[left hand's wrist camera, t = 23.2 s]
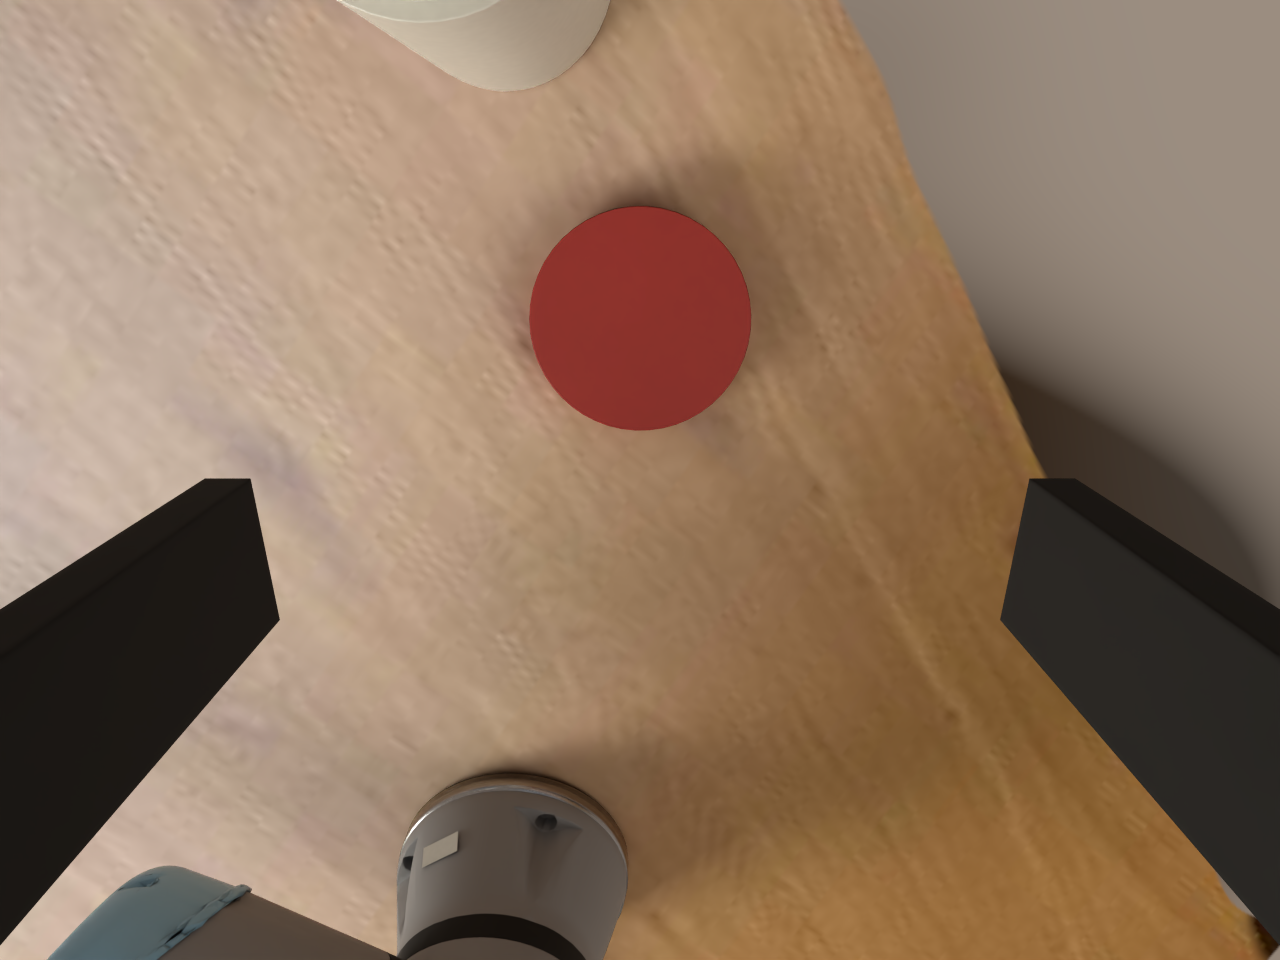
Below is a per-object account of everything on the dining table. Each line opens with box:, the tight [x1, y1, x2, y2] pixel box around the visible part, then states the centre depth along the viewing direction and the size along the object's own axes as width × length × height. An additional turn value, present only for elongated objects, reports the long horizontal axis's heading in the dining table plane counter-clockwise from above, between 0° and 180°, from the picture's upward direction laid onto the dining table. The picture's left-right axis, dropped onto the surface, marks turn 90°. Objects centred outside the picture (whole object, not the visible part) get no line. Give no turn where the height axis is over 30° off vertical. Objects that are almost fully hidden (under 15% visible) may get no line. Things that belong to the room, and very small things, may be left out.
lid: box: [529, 206, 751, 430], centre depth 36 cm, size 11×11×2 cm
